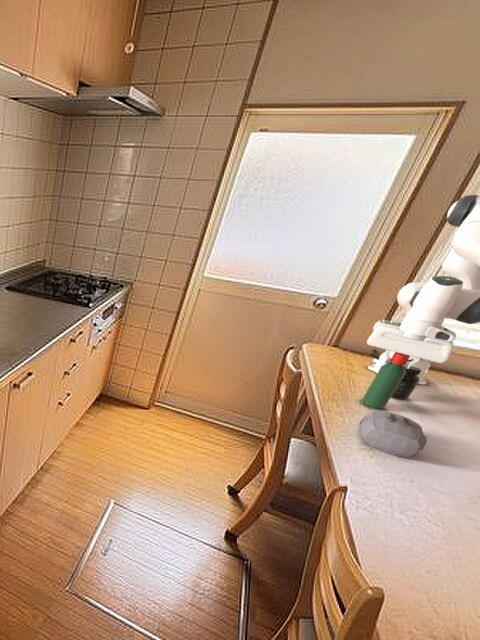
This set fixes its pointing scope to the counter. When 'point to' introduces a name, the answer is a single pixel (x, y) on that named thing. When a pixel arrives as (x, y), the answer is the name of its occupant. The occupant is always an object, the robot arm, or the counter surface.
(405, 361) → the cap
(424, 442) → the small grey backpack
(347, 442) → the counter surface
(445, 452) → the counter surface
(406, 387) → the supplement bottle
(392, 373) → the bottle
